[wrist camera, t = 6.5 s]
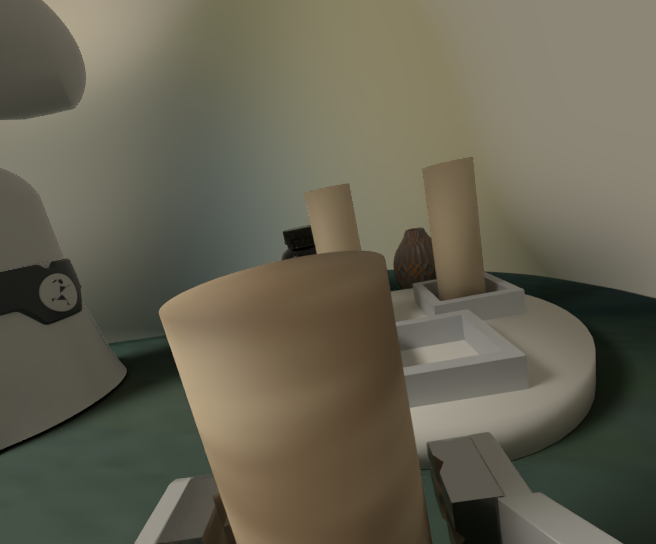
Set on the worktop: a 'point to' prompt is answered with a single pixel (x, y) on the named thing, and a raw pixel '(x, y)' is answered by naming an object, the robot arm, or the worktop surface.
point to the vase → (414, 259)
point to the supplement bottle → (299, 242)
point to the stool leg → (303, 401)
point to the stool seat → (473, 330)
